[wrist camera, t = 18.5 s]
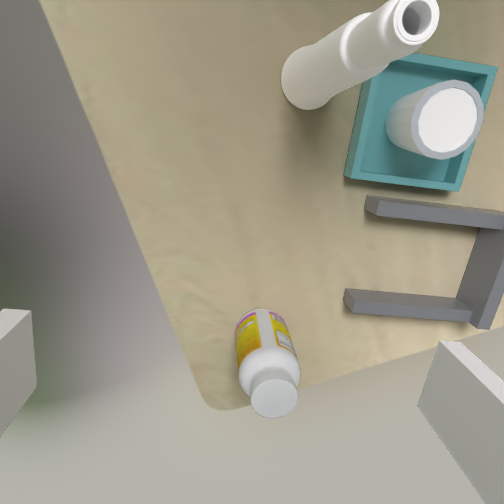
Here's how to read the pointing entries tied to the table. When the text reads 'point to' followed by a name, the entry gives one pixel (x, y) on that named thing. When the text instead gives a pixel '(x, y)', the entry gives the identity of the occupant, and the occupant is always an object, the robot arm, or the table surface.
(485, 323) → the bay
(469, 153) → the tray
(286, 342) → the supplement bottle
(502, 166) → the table surface
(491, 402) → the robot arm
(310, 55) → the cosmetic bottle
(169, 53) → the table surface
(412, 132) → the shot glass
